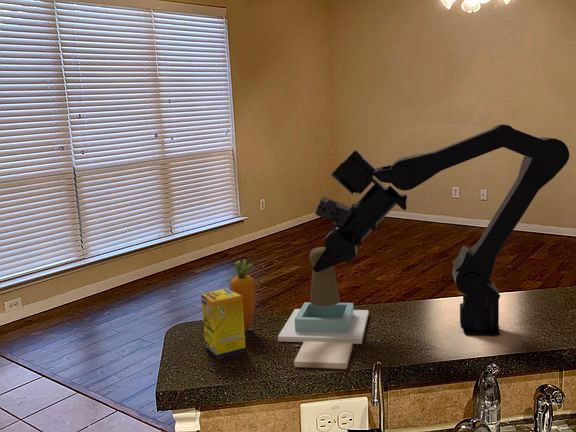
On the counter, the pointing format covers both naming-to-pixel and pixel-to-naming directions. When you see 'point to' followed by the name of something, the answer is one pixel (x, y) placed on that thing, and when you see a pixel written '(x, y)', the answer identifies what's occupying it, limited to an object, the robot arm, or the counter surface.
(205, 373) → the counter surface
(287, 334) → the housing
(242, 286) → the carrot
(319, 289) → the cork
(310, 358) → the pad
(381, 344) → the counter surface
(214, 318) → the supplement box
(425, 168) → the robot arm
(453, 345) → the counter surface
